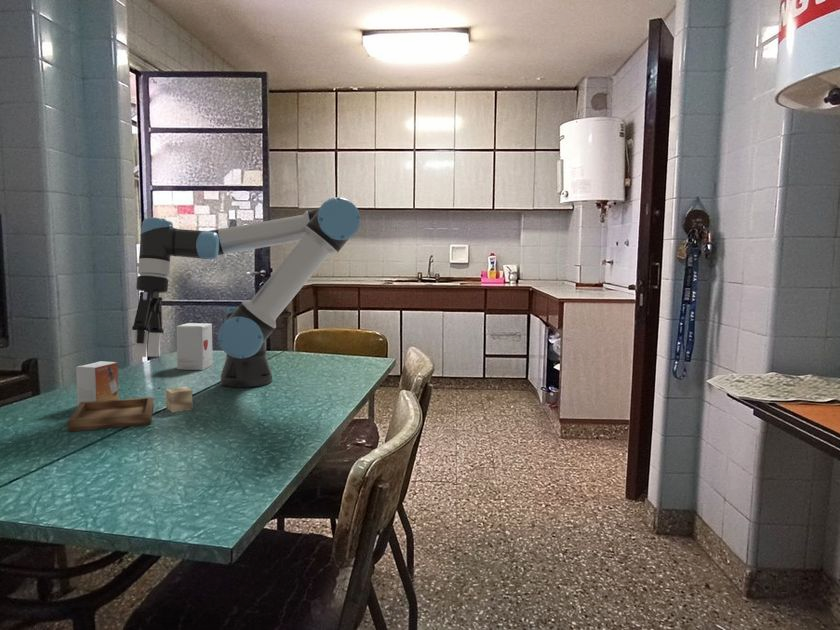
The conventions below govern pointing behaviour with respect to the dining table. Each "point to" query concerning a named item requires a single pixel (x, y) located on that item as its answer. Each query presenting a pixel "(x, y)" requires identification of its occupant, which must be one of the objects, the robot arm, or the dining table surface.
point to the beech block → (179, 399)
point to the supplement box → (194, 346)
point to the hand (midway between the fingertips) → (146, 356)
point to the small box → (97, 382)
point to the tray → (111, 414)
